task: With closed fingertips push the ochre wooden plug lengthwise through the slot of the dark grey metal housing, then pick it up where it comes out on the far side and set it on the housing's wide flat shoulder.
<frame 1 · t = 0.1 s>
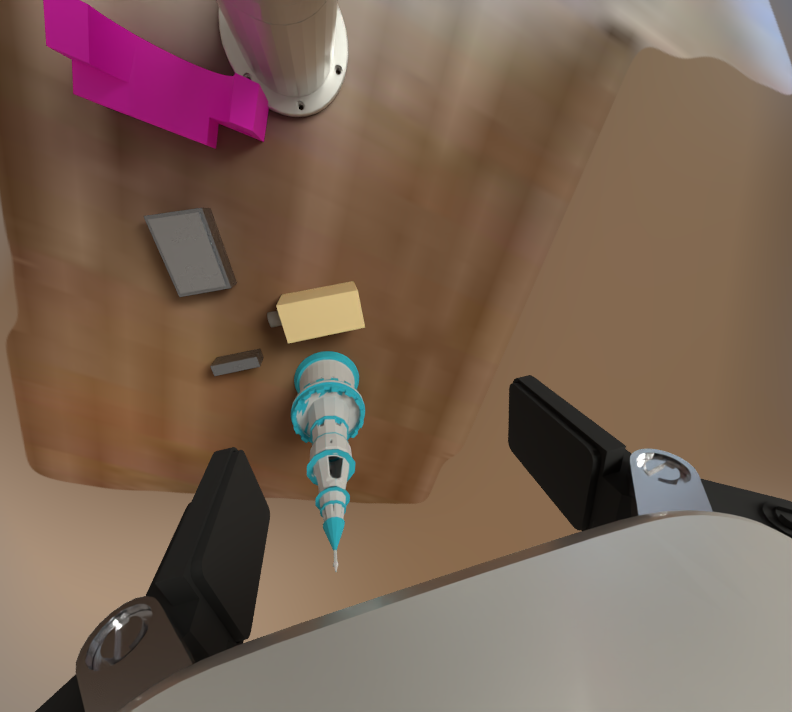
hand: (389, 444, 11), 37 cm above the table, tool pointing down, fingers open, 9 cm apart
toy block: (190, 105, 34), on the table, touching arm
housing: (227, 323, 43), on the table
model tower: (327, 379, 50), on the table
plug: (322, 304, 45), on the table
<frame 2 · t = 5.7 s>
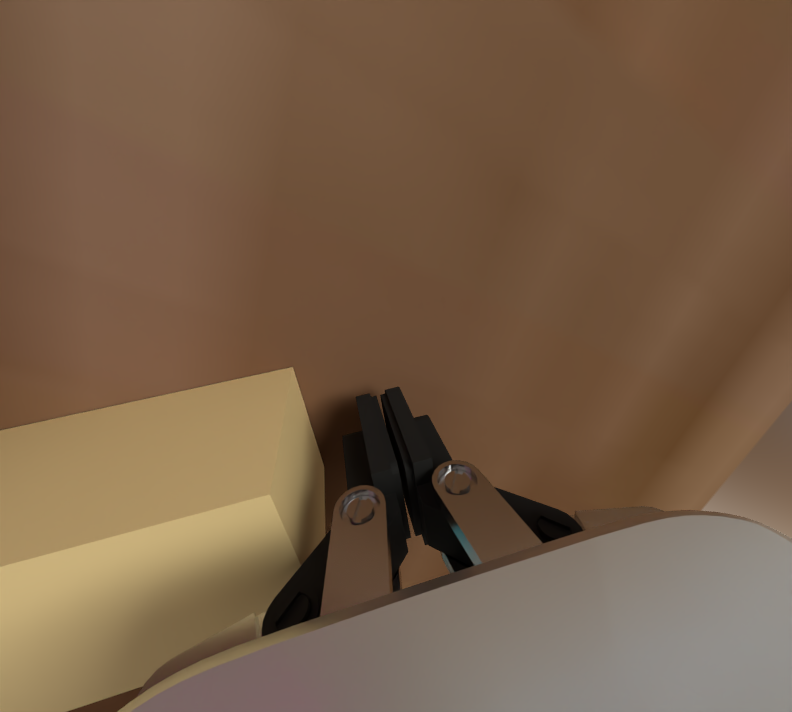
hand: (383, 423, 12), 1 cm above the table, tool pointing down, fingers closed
plug: (178, 452, 12), on the table, touching gripper
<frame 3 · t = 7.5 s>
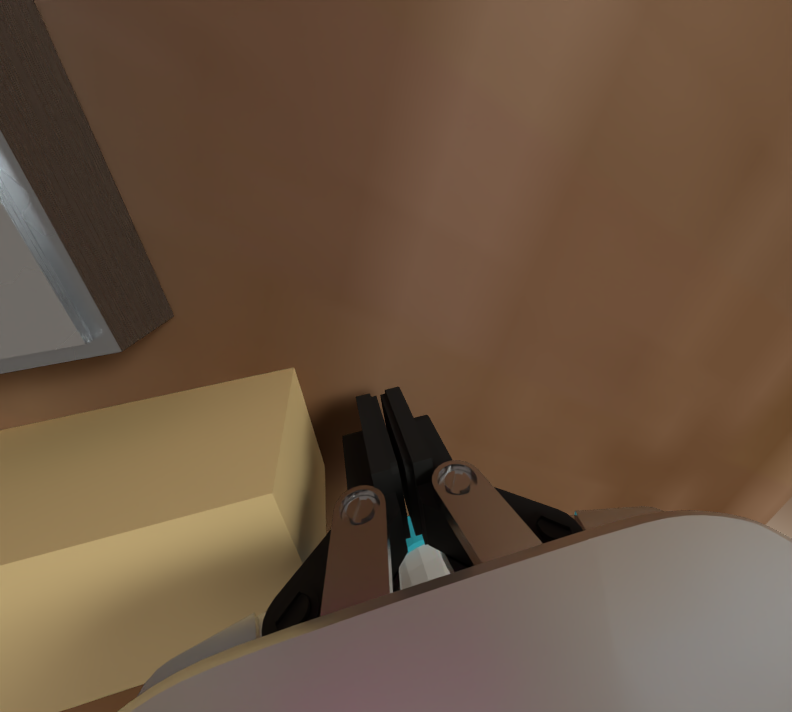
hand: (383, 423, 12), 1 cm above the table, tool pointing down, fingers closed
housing: (145, 456, 12), on the table
model tower: (439, 561, 19), on the table
plug: (180, 452, 12), on the table, touching gripper
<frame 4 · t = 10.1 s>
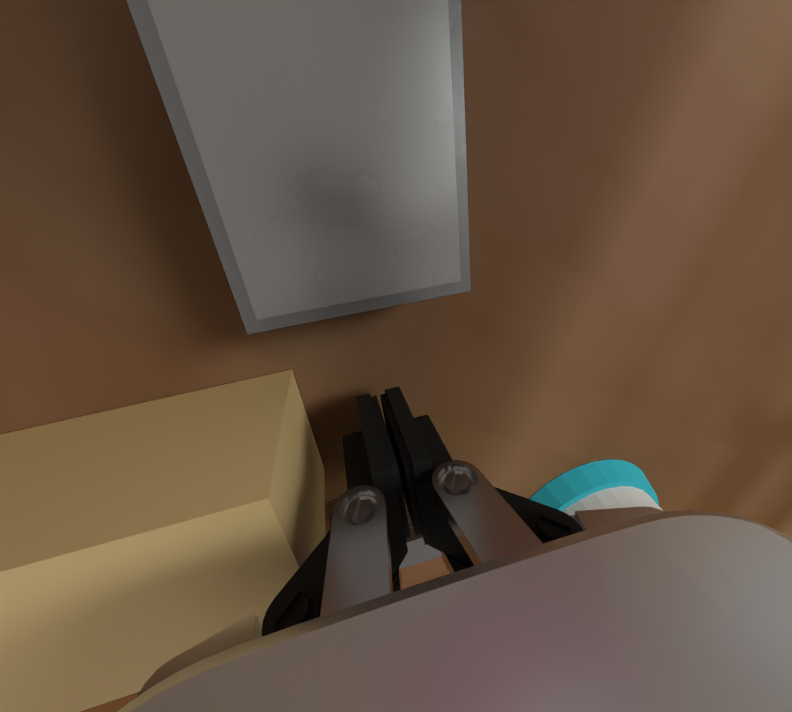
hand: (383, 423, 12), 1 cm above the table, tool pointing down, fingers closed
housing: (376, 406, 13), on the table
model tower: (575, 520, 20), on the table
plug: (178, 455, 12), on the table, touching gripper
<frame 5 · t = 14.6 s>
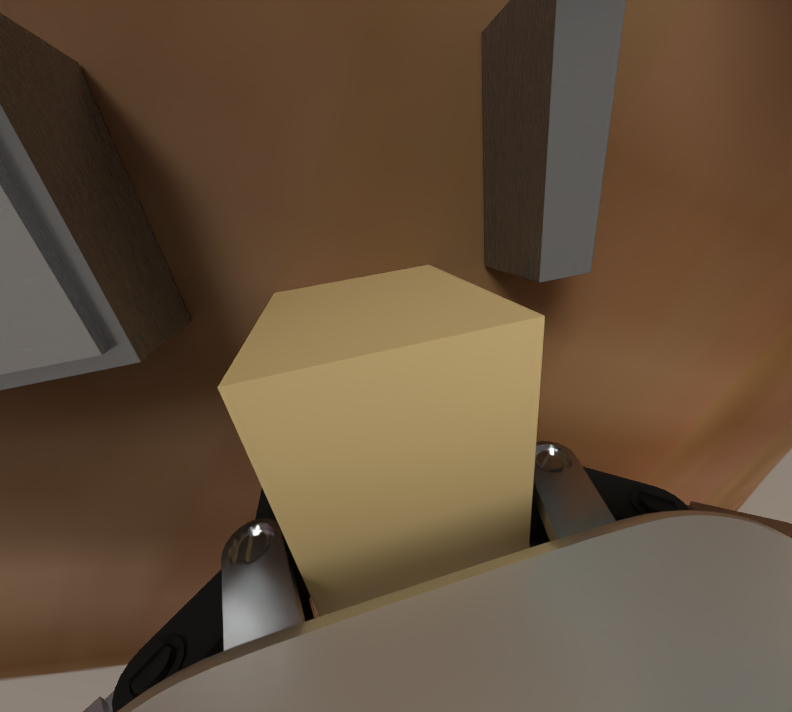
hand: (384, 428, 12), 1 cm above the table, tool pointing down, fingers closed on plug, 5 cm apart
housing: (335, 185, 9), on the table
plug: (379, 407, 12), on the table, touching gripper
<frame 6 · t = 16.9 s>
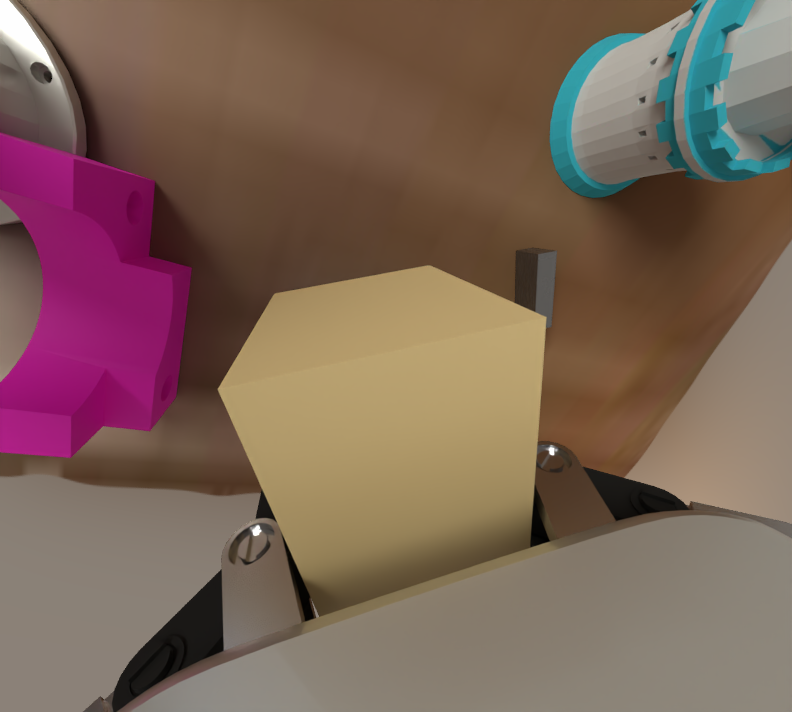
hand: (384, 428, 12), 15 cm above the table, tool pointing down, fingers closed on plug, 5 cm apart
toy block: (136, 294, 22), on the table, touching arm
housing: (466, 296, 26), on the table
model tower: (608, 123, 24), on the table
plug: (379, 408, 12), point 14 cm above the table, touching gripper
when the fingers open (5 cm above the table, at t = 19.2 s): plug stays where it is, resting on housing.
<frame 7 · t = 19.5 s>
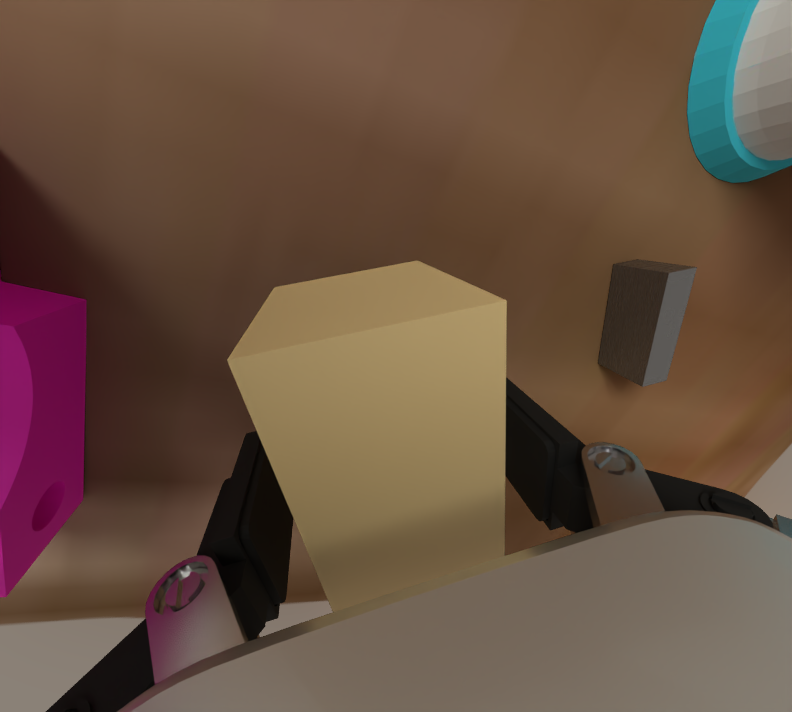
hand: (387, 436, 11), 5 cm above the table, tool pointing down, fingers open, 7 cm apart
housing: (534, 332, 18), on the table
model tower: (777, 61, 15), on the table
plug: (373, 394, 13), point 3 cm above the table, touching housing
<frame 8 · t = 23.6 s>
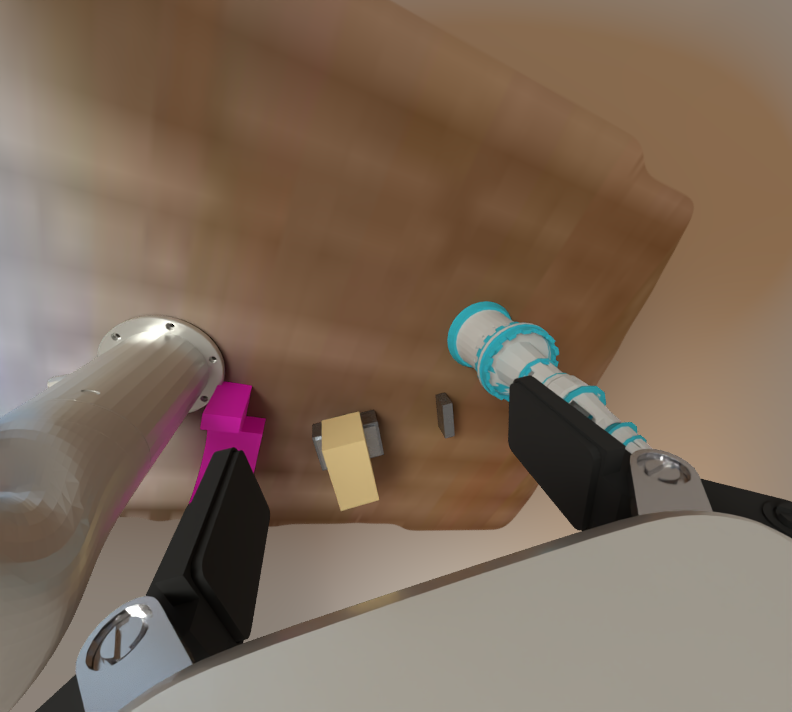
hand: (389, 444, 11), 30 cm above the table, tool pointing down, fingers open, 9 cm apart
toy block: (237, 432, 43), on the table, touching arm
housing: (409, 418, 48), on the table
model tower: (479, 335, 45), on the table
plug: (348, 445, 44), point 3 cm above the table, touching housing
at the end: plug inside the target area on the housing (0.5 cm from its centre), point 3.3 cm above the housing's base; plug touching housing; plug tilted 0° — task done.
